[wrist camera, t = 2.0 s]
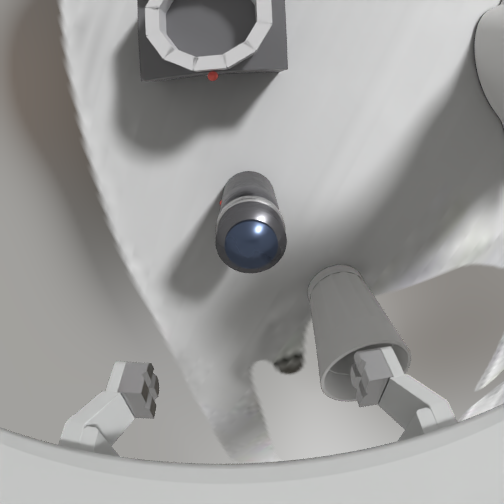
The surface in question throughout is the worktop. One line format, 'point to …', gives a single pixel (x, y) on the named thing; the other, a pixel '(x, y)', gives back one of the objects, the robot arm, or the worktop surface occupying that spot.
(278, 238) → the lens
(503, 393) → the worktop surface
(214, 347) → the worktop surface
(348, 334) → the cup
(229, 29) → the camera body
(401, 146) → the worktop surface
